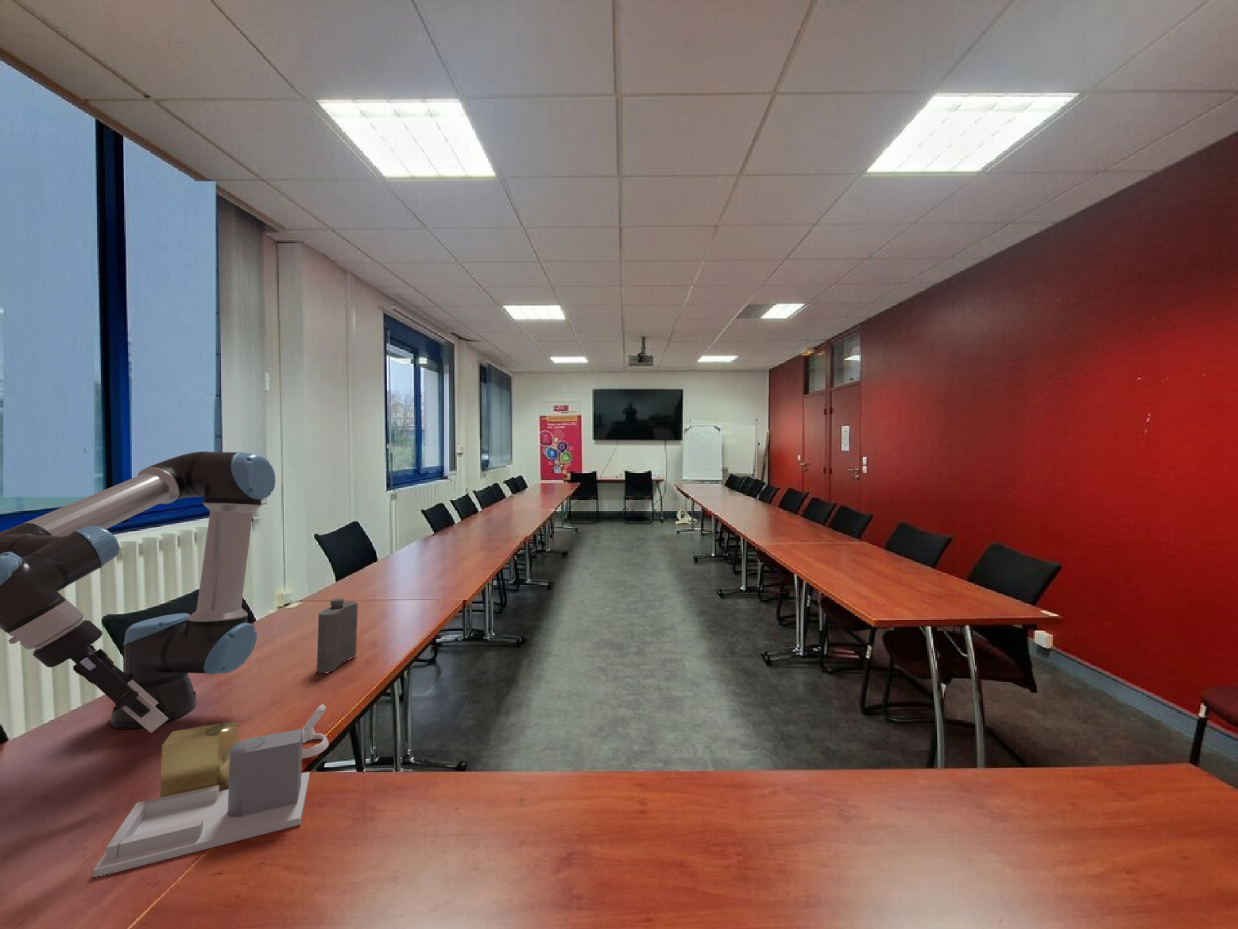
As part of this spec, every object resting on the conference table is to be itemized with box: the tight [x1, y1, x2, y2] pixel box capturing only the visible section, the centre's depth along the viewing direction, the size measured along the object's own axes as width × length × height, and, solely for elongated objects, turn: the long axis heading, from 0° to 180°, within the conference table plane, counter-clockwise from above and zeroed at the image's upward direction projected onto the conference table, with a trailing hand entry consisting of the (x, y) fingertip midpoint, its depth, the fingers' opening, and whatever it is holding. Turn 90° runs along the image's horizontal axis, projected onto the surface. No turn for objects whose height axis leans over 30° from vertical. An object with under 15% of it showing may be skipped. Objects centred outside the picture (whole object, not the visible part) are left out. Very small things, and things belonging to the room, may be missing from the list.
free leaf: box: [159, 721, 239, 798], centre depth 92 cm, size 10×5×11 cm, turn 117°
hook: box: [301, 703, 330, 760], centre depth 106 cm, size 8×12×7 cm
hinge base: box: [93, 728, 311, 878], centre depth 85 cm, size 26×14×12 cm, turn 117°
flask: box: [316, 597, 359, 673], centre depth 151 cm, size 15×6×20 cm, turn 177°
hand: (155, 717), depth 89 cm, fingers open, 13 cm apart
